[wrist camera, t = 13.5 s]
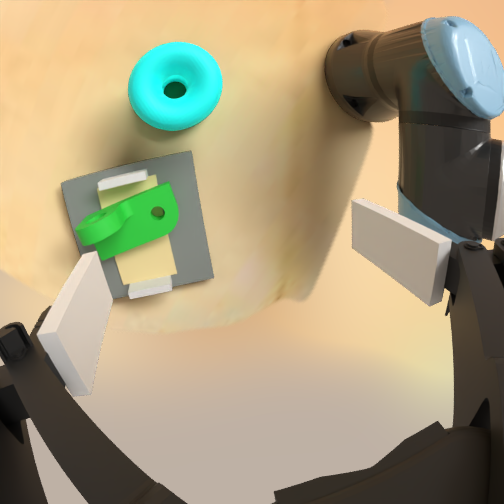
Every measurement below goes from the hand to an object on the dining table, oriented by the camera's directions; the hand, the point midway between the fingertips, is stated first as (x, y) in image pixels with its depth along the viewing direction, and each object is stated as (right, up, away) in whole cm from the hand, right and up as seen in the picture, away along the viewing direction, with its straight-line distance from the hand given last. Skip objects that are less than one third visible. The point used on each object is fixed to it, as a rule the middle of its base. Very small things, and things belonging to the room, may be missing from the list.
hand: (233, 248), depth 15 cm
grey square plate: (-15, +3, +27) cm, 31 cm away
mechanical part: (-14, +4, +24) cm, 28 cm away
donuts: (-9, +20, +22) cm, 31 cm away
